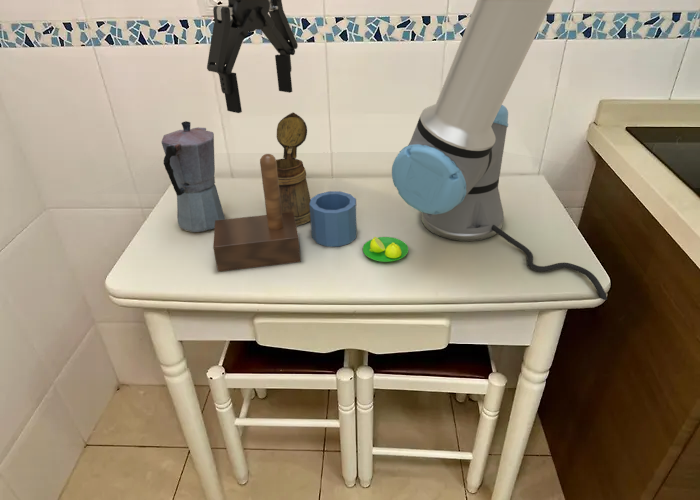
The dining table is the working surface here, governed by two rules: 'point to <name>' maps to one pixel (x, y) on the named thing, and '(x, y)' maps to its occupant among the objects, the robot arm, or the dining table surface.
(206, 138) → the moka pot
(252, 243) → the peg box
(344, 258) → the dining table surface
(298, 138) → the wooden mug
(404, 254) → the green plate
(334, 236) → the blue faceted cup
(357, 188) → the dining table surface
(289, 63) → the robot arm
